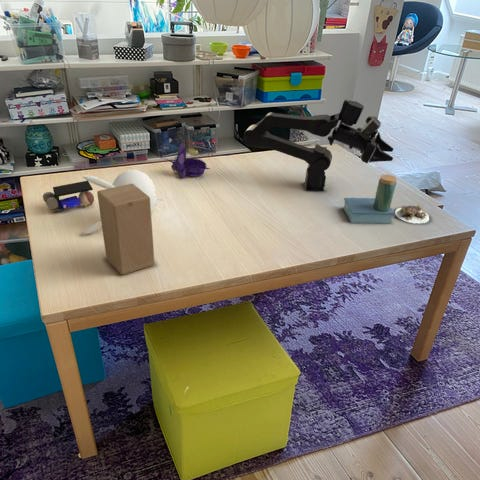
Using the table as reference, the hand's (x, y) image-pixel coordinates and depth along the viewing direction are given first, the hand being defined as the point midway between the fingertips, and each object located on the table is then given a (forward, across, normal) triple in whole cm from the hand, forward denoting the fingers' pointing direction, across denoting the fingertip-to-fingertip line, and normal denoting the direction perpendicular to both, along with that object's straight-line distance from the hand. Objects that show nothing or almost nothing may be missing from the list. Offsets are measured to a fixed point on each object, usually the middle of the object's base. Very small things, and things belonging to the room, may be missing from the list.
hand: (392, 154), depth 169 cm
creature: (-65, -5, +34) cm, 74 cm away
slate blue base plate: (0, -17, +16) cm, 23 cm away
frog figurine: (+14, -12, +12) cm, 22 cm away
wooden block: (-60, -69, +32) cm, 97 cm away
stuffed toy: (-70, -50, +35) cm, 93 cm away
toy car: (-90, -45, +41) cm, 108 cm away
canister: (+2, -18, +12) cm, 21 cm away
